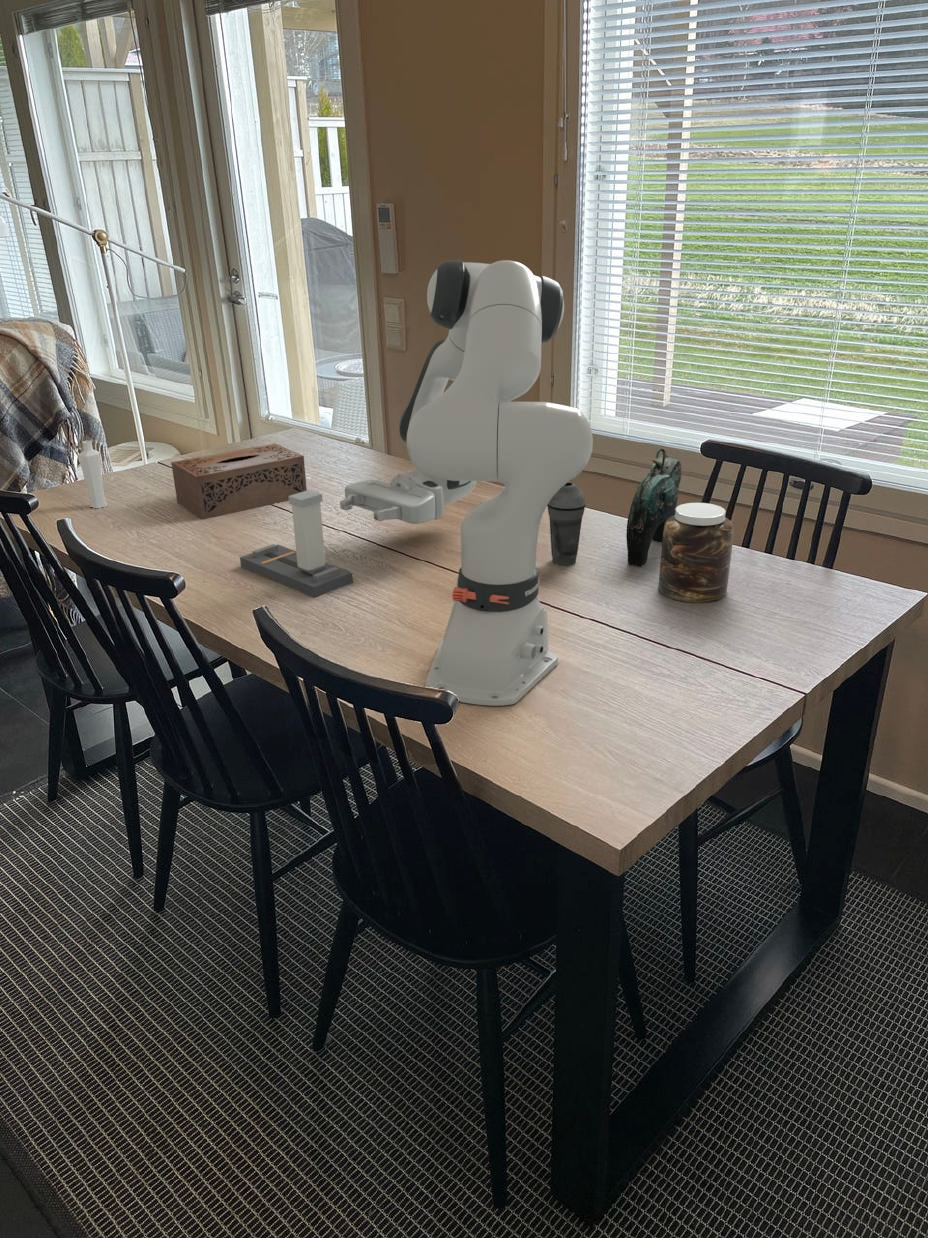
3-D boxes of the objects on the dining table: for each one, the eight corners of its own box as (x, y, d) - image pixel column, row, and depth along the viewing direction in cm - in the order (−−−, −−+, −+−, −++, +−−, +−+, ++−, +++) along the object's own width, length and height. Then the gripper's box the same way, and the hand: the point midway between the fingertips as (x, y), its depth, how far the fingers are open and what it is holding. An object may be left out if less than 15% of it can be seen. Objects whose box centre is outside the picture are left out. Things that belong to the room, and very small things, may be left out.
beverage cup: (581, 570, 174) (586, 466, 166) (542, 567, 176) (545, 464, 167) (584, 555, 181) (589, 455, 172) (547, 553, 182) (550, 453, 174)
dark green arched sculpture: (653, 533, 192) (660, 437, 184) (683, 538, 189) (693, 441, 181) (617, 564, 177) (624, 462, 168) (650, 570, 174) (658, 466, 165)
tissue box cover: (202, 520, 203) (196, 476, 199) (177, 504, 214) (171, 462, 209) (307, 497, 217) (303, 455, 213) (279, 483, 227) (275, 443, 223)
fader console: (353, 582, 170) (351, 567, 169) (314, 597, 164) (313, 581, 163) (278, 553, 184) (277, 539, 182) (241, 566, 178) (239, 552, 176)
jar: (675, 572, 173) (682, 495, 166) (736, 586, 167) (746, 506, 160) (647, 593, 164) (654, 513, 158) (710, 609, 158) (720, 526, 152)
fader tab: (328, 568, 170) (322, 494, 164) (309, 576, 167) (302, 500, 161) (314, 563, 173) (308, 489, 167) (295, 570, 170) (287, 495, 164)
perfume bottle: (114, 504, 213) (102, 440, 206) (98, 510, 210) (86, 444, 203) (101, 501, 215) (89, 437, 209) (85, 506, 212) (72, 442, 205)
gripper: (374, 468, 189) (322, 484, 180) (448, 488, 176) (395, 506, 167) (376, 498, 192) (324, 515, 182) (448, 519, 179) (396, 539, 170)
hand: (359, 511), depth 175 cm, fingers open, 8 cm apart
